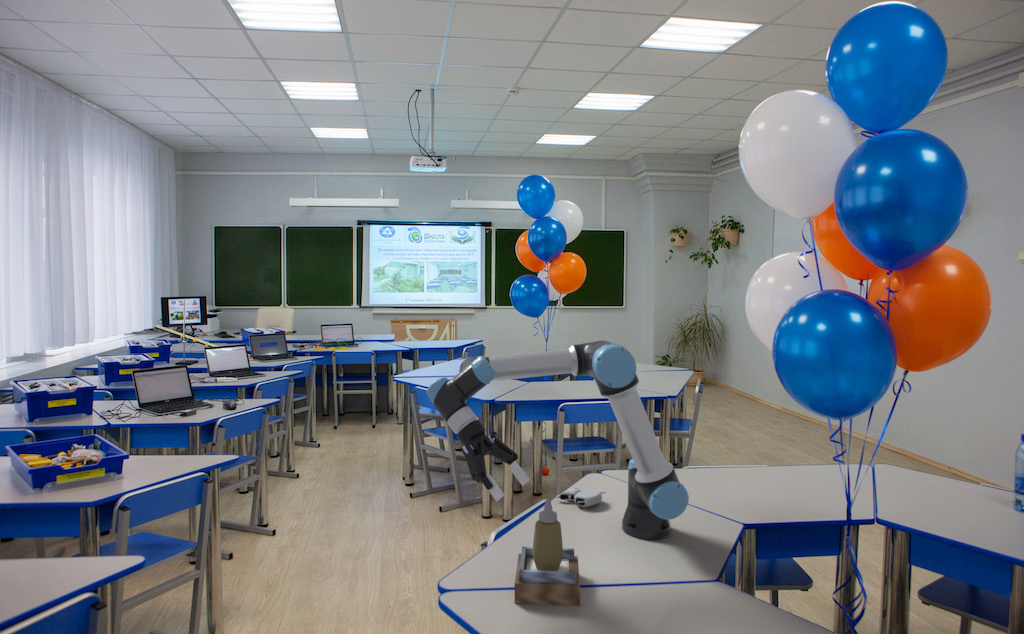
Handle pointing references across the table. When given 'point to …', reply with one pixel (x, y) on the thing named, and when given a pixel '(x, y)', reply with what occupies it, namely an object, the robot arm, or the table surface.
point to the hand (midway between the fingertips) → (514, 490)
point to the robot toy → (581, 496)
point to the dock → (547, 581)
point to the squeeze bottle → (547, 540)
